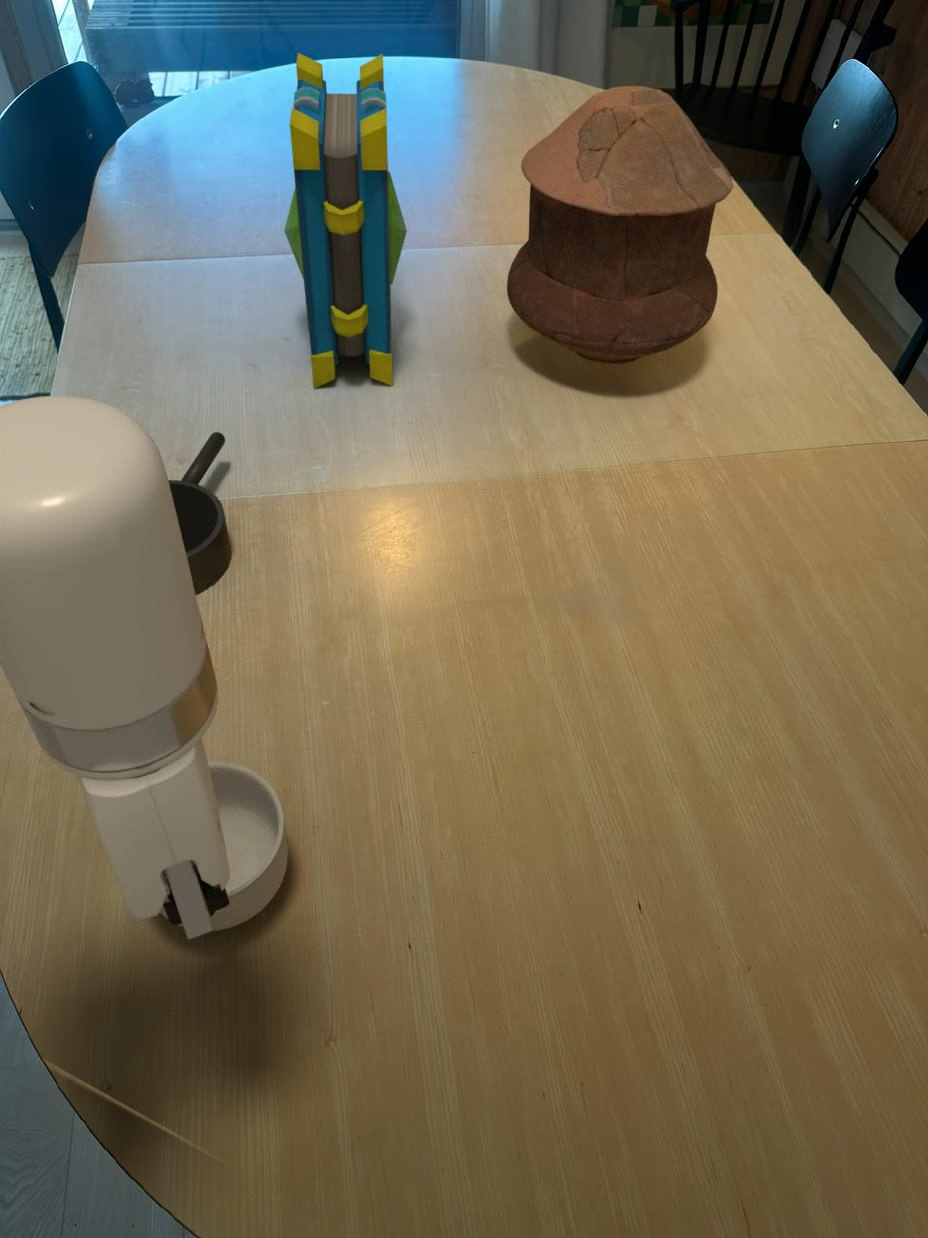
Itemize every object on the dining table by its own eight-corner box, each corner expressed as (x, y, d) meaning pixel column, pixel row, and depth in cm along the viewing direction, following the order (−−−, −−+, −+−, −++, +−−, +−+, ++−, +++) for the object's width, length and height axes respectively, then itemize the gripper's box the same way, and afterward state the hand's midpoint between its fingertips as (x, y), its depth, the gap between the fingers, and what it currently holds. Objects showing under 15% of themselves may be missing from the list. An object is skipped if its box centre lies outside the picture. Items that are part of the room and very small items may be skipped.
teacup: (320, 851, 74) (312, 795, 68) (241, 977, 68) (224, 926, 62) (170, 783, 78) (150, 724, 72) (80, 896, 71) (50, 841, 65)
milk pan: (83, 589, 92) (69, 551, 88) (173, 457, 106) (165, 419, 102) (203, 612, 91) (194, 574, 87) (278, 475, 104) (273, 437, 101)
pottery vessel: (715, 411, 116) (785, 152, 93) (501, 399, 116) (521, 138, 93) (689, 300, 133) (744, 60, 111) (504, 290, 133) (521, 47, 111)
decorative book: (404, 296, 131) (402, 50, 109) (411, 395, 115) (410, 131, 93) (298, 297, 130) (274, 48, 108) (290, 397, 114) (260, 130, 92)
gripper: (3, 581, 44) (100, 801, 57) (53, 877, 34) (156, 1057, 48) (170, 540, 46) (226, 761, 59) (261, 807, 36) (303, 997, 50)
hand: (194, 891), depth 53 cm, fingers closed
